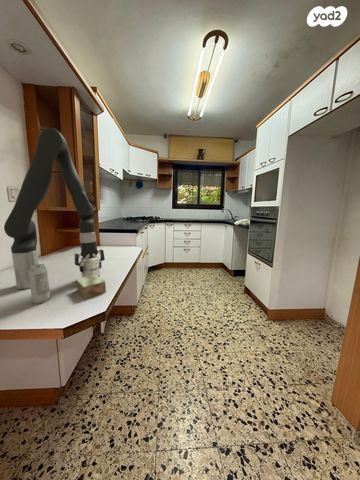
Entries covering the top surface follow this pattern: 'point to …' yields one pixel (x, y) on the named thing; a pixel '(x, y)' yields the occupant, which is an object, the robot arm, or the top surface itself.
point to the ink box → (91, 267)
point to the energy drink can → (39, 283)
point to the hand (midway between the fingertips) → (91, 270)
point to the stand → (90, 286)
